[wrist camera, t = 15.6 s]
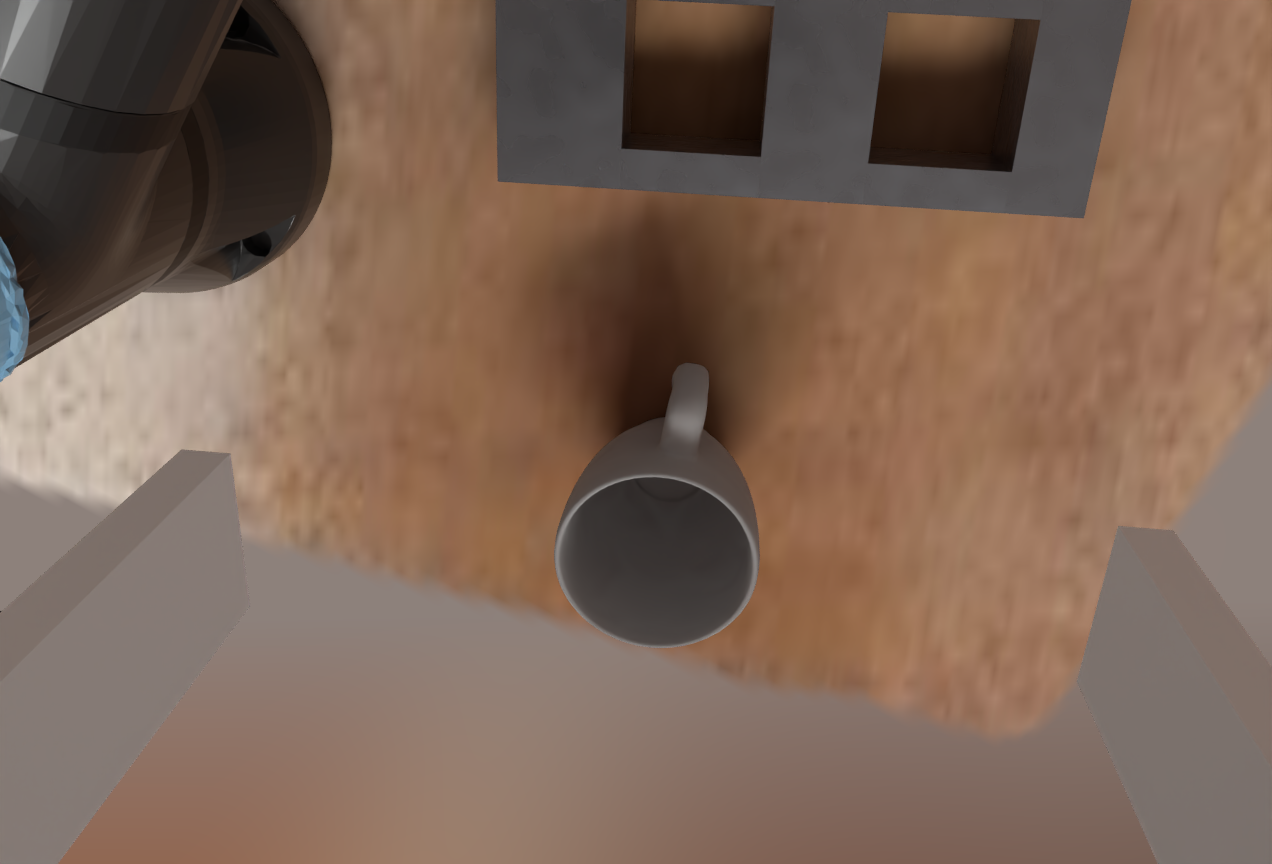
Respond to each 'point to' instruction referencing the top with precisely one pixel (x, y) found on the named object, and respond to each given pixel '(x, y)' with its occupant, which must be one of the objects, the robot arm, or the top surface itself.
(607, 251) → the top surface
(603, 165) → the grey hollow block
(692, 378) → the mug
